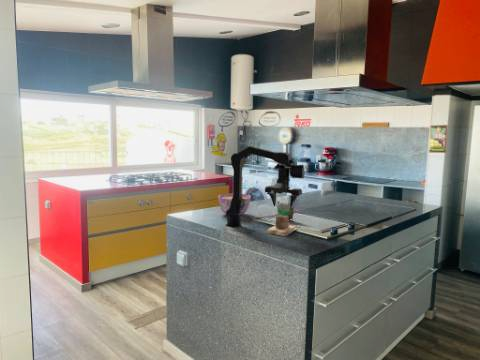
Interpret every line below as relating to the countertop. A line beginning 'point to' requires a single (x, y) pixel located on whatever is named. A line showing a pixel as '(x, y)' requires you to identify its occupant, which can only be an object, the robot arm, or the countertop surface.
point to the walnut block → (282, 221)
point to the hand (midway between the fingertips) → (282, 207)
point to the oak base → (281, 230)
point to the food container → (285, 209)
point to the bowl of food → (227, 198)
